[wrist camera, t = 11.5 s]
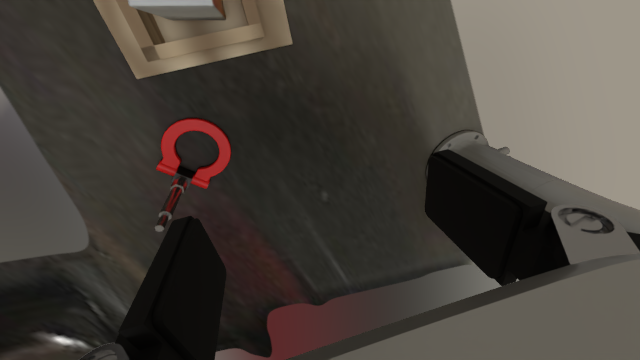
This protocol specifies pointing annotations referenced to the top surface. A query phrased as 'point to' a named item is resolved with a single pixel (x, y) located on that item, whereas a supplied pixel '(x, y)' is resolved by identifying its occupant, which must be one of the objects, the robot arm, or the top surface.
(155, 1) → the small box
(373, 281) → the top surface
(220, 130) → the tow hook
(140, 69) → the well
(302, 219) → the top surface
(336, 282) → the top surface
